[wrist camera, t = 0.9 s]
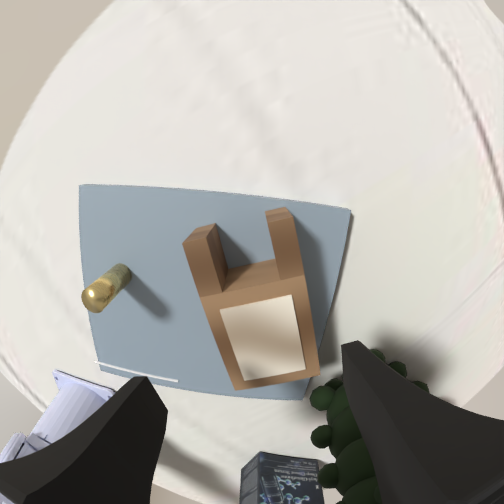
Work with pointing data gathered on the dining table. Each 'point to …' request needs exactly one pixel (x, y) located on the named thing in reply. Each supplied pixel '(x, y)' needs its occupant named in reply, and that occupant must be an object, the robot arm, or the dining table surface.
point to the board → (191, 277)
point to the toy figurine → (347, 443)
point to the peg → (106, 288)
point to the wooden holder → (257, 306)
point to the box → (280, 481)
